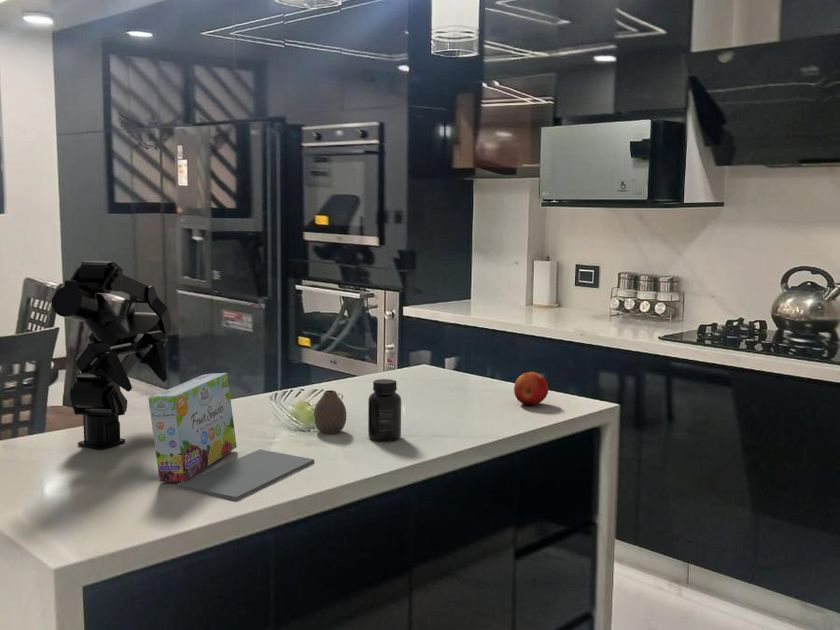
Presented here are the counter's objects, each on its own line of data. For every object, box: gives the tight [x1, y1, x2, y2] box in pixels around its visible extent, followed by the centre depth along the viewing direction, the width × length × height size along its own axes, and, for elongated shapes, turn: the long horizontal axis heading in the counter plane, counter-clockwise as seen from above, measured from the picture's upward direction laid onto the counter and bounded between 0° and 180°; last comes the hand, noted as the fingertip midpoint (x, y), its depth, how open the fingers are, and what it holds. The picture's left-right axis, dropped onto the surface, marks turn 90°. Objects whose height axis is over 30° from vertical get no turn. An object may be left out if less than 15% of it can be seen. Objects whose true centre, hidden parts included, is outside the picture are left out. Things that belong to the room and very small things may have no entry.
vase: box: [313, 390, 347, 435], centre depth 178 cm, size 7×7×9 cm
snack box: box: [147, 372, 238, 483], centre depth 153 cm, size 21×6×15 cm, turn 169°
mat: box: [176, 449, 315, 501], centre depth 150 cm, size 12×23×1 cm, turn 154°
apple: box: [513, 371, 549, 406], centre depth 205 cm, size 8×8×8 cm
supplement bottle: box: [367, 378, 402, 443], centre depth 174 cm, size 7×7×12 cm
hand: (148, 385), depth 158 cm, fingers open, 9 cm apart
